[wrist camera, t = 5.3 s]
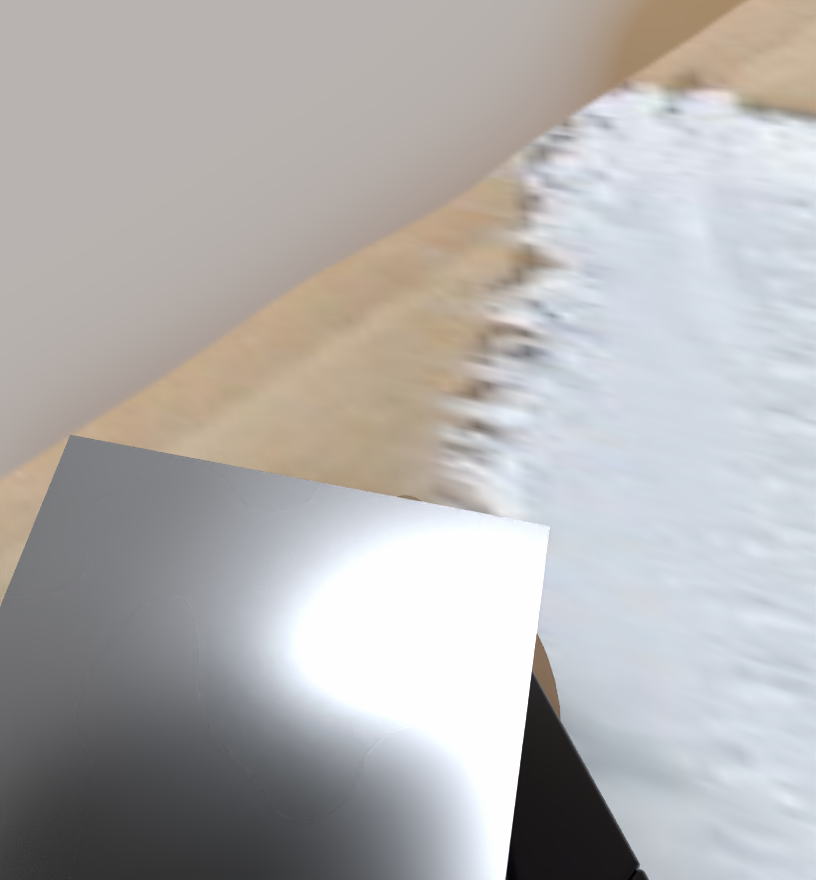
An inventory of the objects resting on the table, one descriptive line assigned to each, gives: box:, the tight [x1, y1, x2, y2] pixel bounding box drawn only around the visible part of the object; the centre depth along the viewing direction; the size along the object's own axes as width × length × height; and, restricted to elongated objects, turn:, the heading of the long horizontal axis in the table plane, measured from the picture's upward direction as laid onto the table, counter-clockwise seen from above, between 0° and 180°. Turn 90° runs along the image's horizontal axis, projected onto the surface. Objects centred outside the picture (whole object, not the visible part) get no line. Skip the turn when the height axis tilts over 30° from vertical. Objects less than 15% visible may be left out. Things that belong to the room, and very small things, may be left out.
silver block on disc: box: [0, 435, 550, 880], centre depth 10 cm, size 7×7×12 cm
